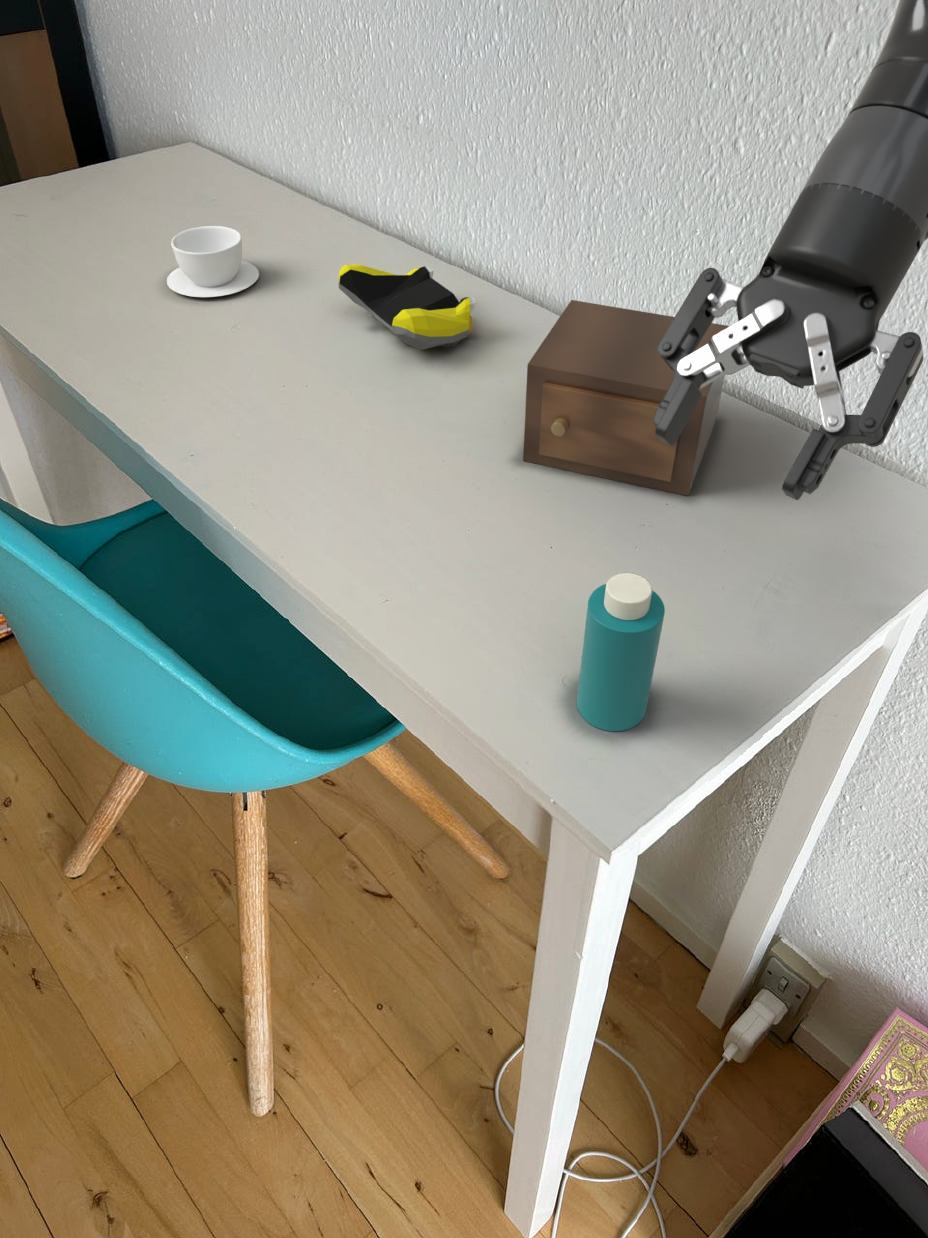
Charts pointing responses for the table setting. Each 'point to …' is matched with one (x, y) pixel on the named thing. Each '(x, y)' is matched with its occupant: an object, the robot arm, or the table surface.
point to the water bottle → (619, 652)
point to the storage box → (612, 400)
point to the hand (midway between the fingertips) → (724, 466)
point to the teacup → (210, 263)
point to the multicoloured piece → (409, 304)
